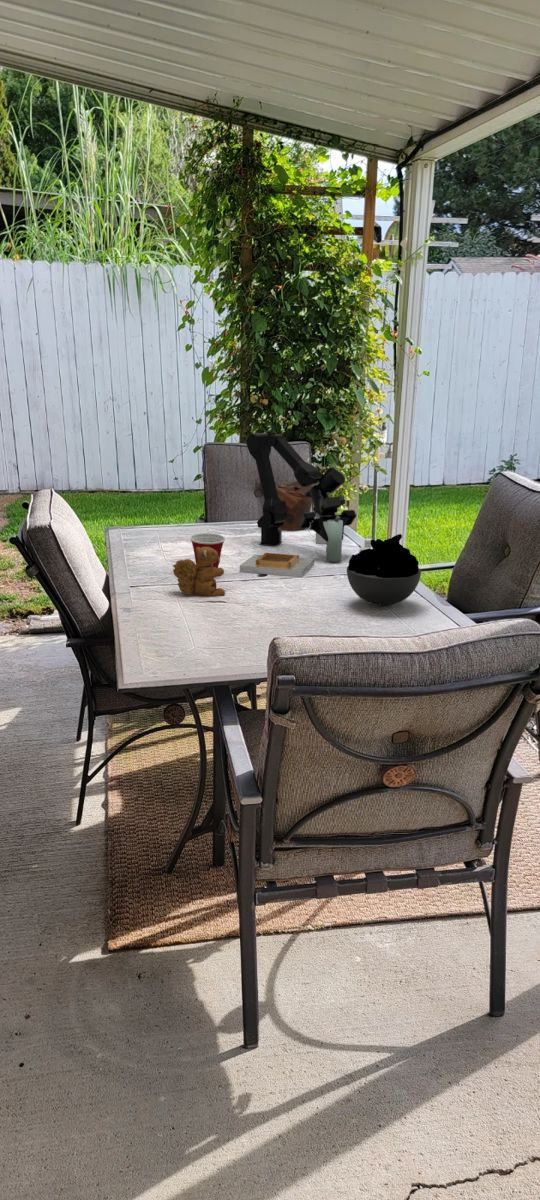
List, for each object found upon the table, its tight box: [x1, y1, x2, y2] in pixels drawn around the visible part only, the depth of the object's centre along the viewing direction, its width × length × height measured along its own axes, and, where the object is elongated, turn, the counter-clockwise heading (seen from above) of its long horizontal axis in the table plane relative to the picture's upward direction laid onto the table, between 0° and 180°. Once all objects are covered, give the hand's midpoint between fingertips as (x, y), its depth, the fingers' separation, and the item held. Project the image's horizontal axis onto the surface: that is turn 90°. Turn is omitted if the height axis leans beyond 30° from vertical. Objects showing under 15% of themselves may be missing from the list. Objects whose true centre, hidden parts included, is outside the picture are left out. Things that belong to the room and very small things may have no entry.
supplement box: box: [315, 510, 339, 545], centre depth 313 cm, size 7×7×13 cm
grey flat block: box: [239, 552, 315, 578], centre depth 275 cm, size 20×16×4 cm
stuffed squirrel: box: [172, 547, 226, 597], centre depth 245 cm, size 10×14×13 cm
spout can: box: [325, 516, 343, 563], centre depth 283 cm, size 5×5×15 cm
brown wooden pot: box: [276, 480, 314, 531], centre depth 336 cm, size 18×20×18 cm
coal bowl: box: [346, 533, 422, 607], centre depth 235 cm, size 20×20×19 cm
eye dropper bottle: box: [358, 534, 373, 553], centre depth 270 cm, size 4×6×12 cm
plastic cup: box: [189, 532, 226, 568], centre depth 264 cm, size 11×11×12 cm
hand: (334, 540), depth 283 cm, fingers closed on spout can, 5 cm apart
